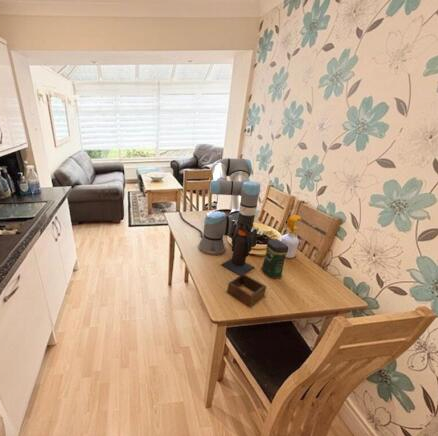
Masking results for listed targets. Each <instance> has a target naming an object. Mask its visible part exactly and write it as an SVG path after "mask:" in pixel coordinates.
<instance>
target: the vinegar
mask: <svg viewBox="0 0 438 436" xmlns="http://www.w3.org/2000/svg"><path fill="white" fill-rule="evenodd" d="M248 232H249V231H248ZM238 234H239V235H238V236H236V238H235V244H234V250H233V251H232V256H231V259H232V263H233V264H234V265H236V266H243V265H244V264H245V263H246V260H247V257H246V258H245V257H244V254H245V249H246V246H247V239H246V234H245V231H243V230H241V229H240V230H239V231H238Z"/></svg>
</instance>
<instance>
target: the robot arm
mask: <svg viewBox="0 0 438 436" xmlns="http://www.w3.org/2000/svg"><path fill="white" fill-rule="evenodd" d="M252 169H253V167H252V162H251V160H250V159H248V158H229V157H225V158H224V157H223V158H219V159H218V160H216V161H215V162H213V163H212V165H211V167H210V174H211V176H212V180H210V182H209V183H210V185H209V194H211V195H215V196H217V195H220V196H231V202H230V203H231V207H230V208H231V210H230V212H229V213H228V215H227V213H226V212H224V211H219V210H218V211H217V210H215V211H210V212H207V214H206V215H204V221H203V222H204V225H203V233H202V230H201V229H199V228H197V227H196V226H194V225H193V224H191V223H190V222H188V221H187V220H185V218H184V217H183V215H182V213H181V210H180V209H178V210H177V212H179V215H180V218H181V219H182V220H183V221H184V222H185V223H186V224H187V225H190V226H191V227H193V228H194V229H196V230H197V231H198V232H200V237H201V240H200V241H199V244H198V249H199V251H201V252H203V253H204V254H206V255H212V256H217V255H222V254H223V253H224V252H225V249H226V243H225V242H224V236H227V237H229V238H230V239H231V245H232V246H231V252H233V250H234V244H235V238H236V236H238V235H239V234H238V231H239V230H240V229H241V230H243V231H245V234H246V239H247V246H246V249H245V254H244V257H245V258H246V259H247V257H249V253H250V252H252V248H254V247H256V246H257V241H258V240H257V238H258V232H259V230H260V229H259V227H255V226H254V222H255V217H256V212H257V206H258V202H259V198H260V197H259V196H260V194H261V193H260V192H261V184H260V183H259V182H257V181H251V180H249V178H250V177H251V175H252ZM228 177H229V179H228ZM248 231H249V232H248Z"/></svg>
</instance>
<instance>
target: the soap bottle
mask: <svg viewBox="0 0 438 436" xmlns="http://www.w3.org/2000/svg"><path fill="white" fill-rule="evenodd" d="M301 218H302V216H300V215H298V214H293V215H291V216H289V218H287V223H286V227H287V228H289V229H290V230H288V233H286V234H283V235H281V237H280V239H279V240H280V241H282V242H283V243H284V244H286V245H287V246H288V253H287V254H286V256H285V258H288V259H292V258H295V256H296V255H297V251H298V248H299V243H300V239H299V238H298V237H297V236H295V235H296V230H299V226H296V222H297V221H298V220H300V219H301Z"/></svg>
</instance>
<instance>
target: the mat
mask: <svg viewBox="0 0 438 436" xmlns="http://www.w3.org/2000/svg"><path fill="white" fill-rule="evenodd" d="M221 266H222V267H224V268H225V269H227V270H229V271H231V272H232V273H234V274H236V275H238V276H240V275H242V274H245V275H246V273H248V272H250V271H251V270H252V269H254V268H255V267H254V266H253V265H251V264H250V263H247V262H245V264H244V265H243V266H236V265H234V264H233V263H232V258H230V259H229V260H227V261H225V262H223V263H222V264H221Z"/></svg>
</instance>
